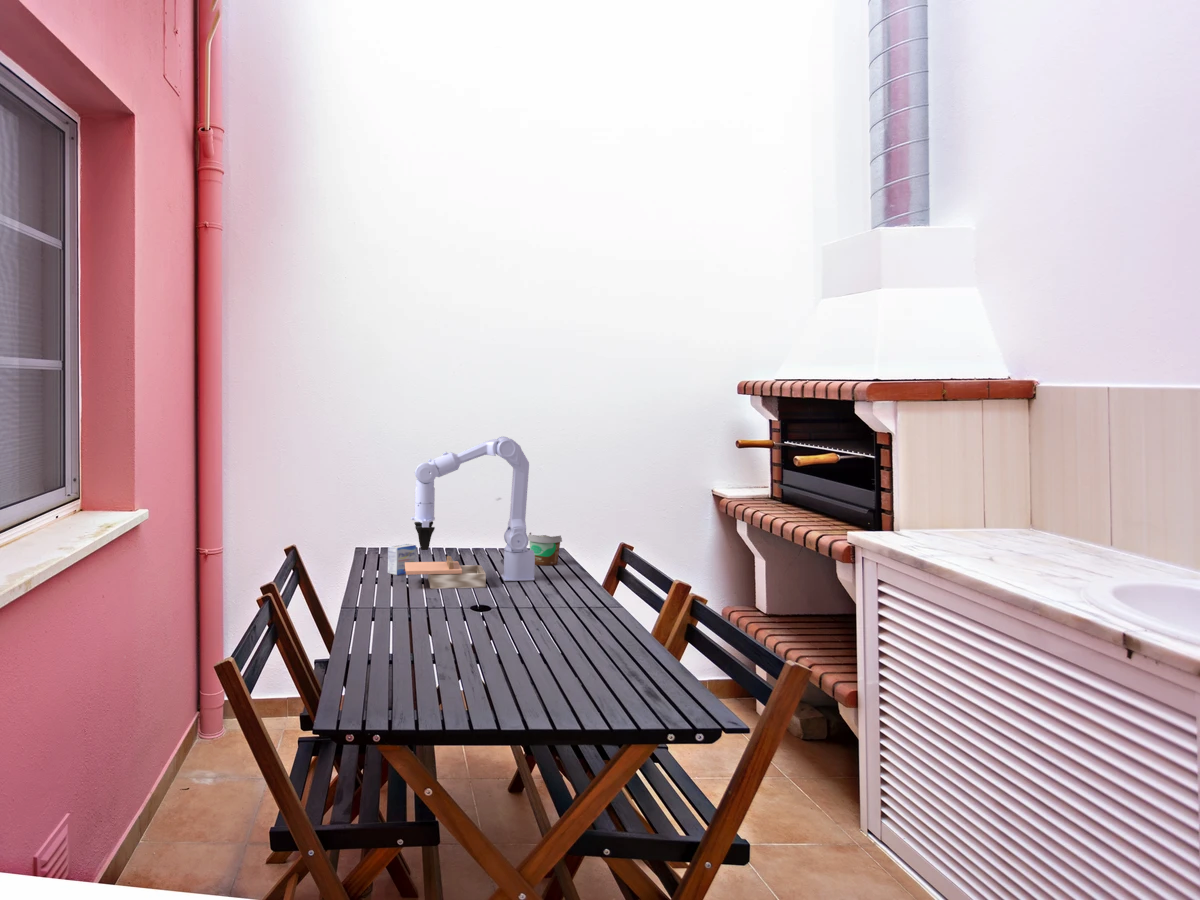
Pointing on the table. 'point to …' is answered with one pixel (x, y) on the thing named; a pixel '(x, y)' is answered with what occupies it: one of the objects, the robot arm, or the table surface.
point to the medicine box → (400, 558)
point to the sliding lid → (433, 567)
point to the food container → (545, 549)
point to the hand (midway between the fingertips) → (423, 547)
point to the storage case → (459, 578)
